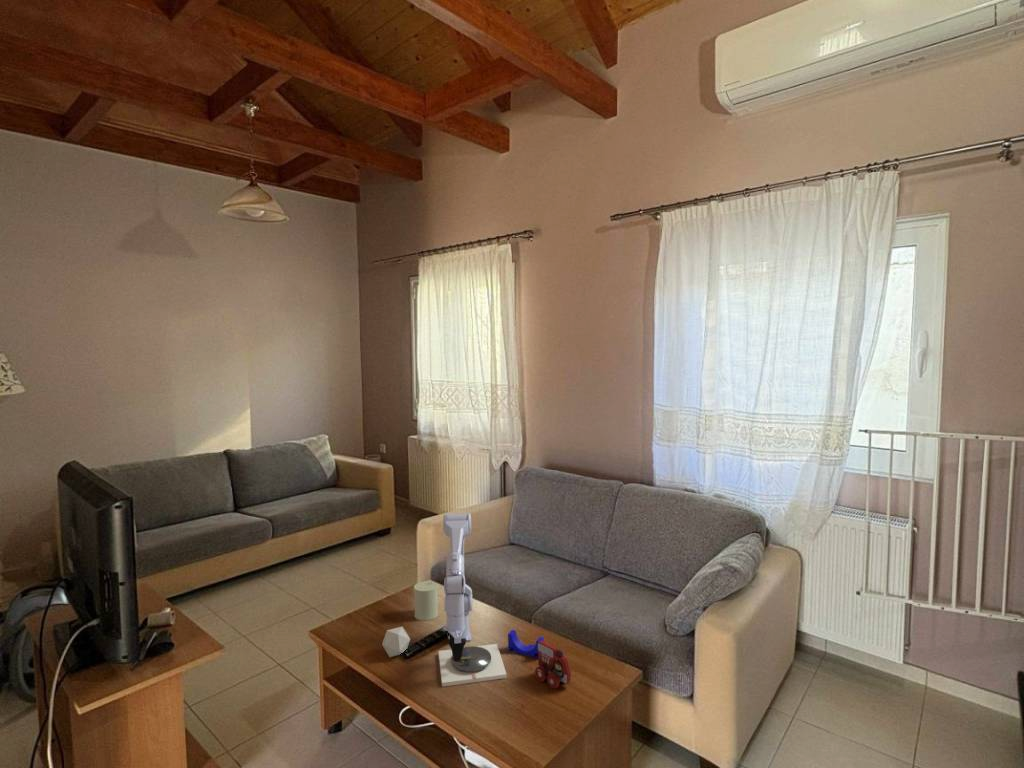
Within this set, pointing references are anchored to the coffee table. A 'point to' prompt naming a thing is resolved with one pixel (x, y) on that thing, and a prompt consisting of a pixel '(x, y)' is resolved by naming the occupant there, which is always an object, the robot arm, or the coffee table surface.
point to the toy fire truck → (552, 665)
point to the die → (395, 641)
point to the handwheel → (472, 659)
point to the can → (426, 600)
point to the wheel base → (462, 677)
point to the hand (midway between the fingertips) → (456, 653)
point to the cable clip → (522, 645)
